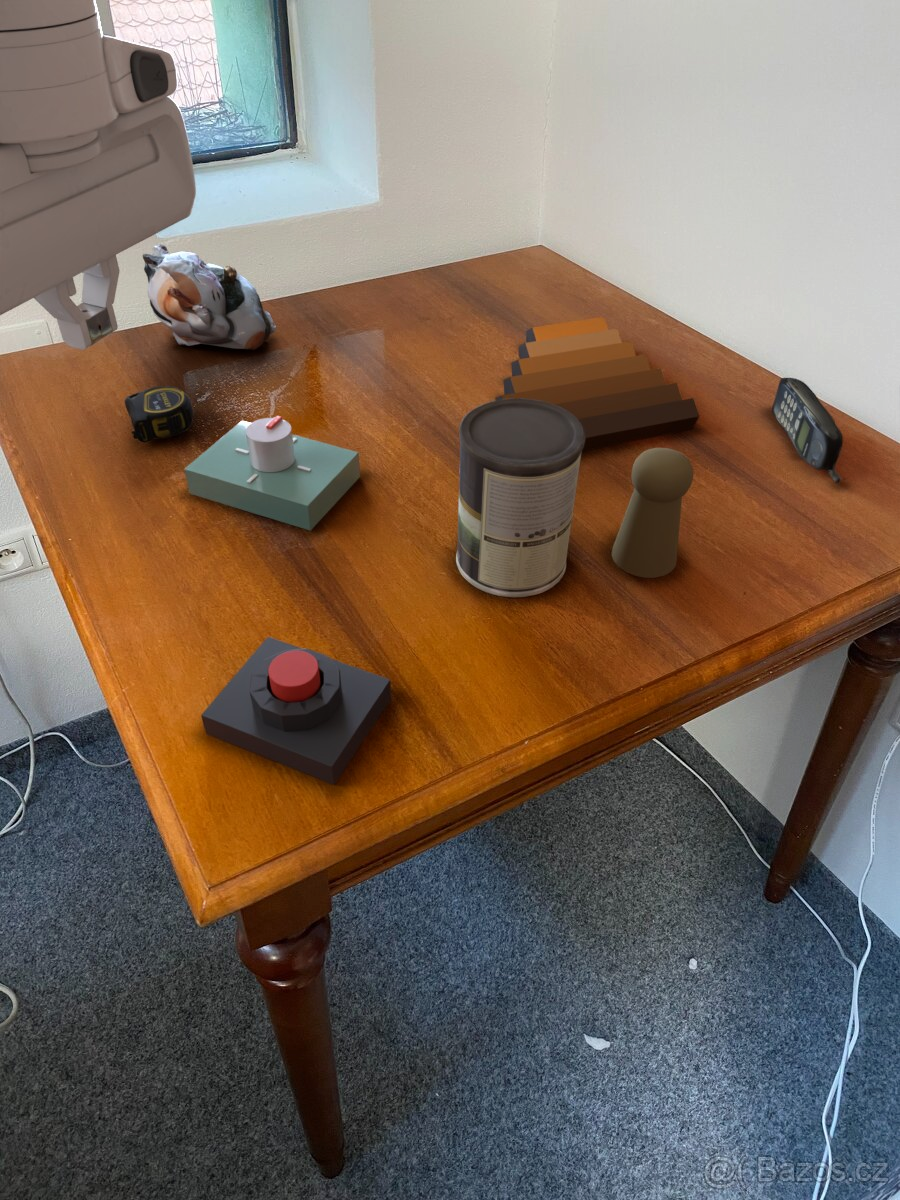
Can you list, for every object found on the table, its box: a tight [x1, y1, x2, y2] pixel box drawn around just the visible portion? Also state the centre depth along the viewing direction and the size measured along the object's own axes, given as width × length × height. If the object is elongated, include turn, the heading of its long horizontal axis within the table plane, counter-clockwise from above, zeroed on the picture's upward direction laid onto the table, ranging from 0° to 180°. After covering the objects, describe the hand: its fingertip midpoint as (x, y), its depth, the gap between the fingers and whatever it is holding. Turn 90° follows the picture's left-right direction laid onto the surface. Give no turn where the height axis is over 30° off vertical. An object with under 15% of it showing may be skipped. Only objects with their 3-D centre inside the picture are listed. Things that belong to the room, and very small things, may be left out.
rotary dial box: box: [183, 420, 361, 532], centre depth 88 cm, size 14×10×3 cm
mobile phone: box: [771, 377, 844, 484], centre depth 95 cm, size 5×3×15 cm
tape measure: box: [124, 385, 195, 444], centre depth 95 cm, size 7×7×4 cm
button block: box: [200, 636, 392, 786], centre depth 66 cm, size 11×9×4 cm
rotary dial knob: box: [245, 415, 295, 472], centre depth 86 cm, size 4×4×4 cm
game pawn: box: [610, 447, 694, 579], centre depth 78 cm, size 6×6×11 cm
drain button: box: [268, 651, 320, 702], centre depth 64 cm, size 4×4×2 cm
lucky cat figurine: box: [142, 244, 277, 351], centre depth 108 cm, size 15×12×14 cm
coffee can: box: [455, 398, 585, 598], centre depth 76 cm, size 10×10×14 cm
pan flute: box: [494, 316, 700, 452], centre depth 102 cm, size 25×3×25 cm
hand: (92, 338), depth 54 cm, fingers closed
